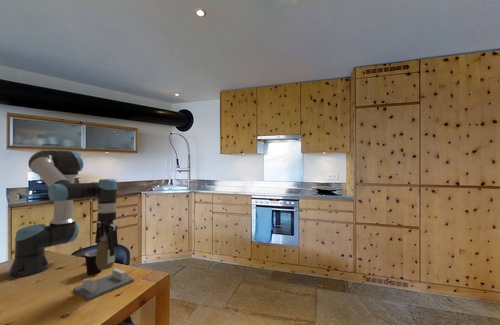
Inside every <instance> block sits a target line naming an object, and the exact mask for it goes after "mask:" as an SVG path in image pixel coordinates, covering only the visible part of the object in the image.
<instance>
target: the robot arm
mask: <svg viewBox="0 0 500 325" xmlns="http://www.w3.org/2000/svg"><path fill="white" fill-rule="evenodd" d="M28 167H29V169H30V171H31V172H33V173H34V174H37V175H38V177H40V179H41V180H42V181H43V183H45V184H46V185H47V186H48V192H47V194H48V199H49V200H50V201H52V202H53V204H54V205H53V216H52V219H51V220H50V221H49V225H46V224H45V223H38V224H32V225H28V226H23V227H22V228H20V229H18V230H17V231H16V232H15V237H14V241H15V243H14V244H15V246H14V260H13V261H12V264H11V266H10V269H9V271H8V275H9V277H11V278H12V277H13V278H17V277H18V278H19V277H26V276H31V275H36V274H38V273H42V272H44V271H45V270H47V269H48V268H49V261H48V259H47V256H46V254H45V248H50V247H55V246H60V245H63V244H64V245H66V244H68V243H72V242H74V241H75V240H76V239H77V237H78V235H79V231H80V227H79V223H78V221H76V220H75V218H73V209H74V201H75V200H86V199H97V207H96V208H97V218H96V220H97V221H98V222H96V231H95V239H94V244H96V245H97V246H98V243H99V242H100V240H101V237H102V236H103V235H104V232H105V235H106V236H107V241H108V246H109V248H108V257H107V264H109V263H112V262H114V252H115V253H116V250H115V249H116V248H118V247H119V243H118V242H119V241H118V225H117V224H116V225H114V221H115V220H116V219H117V212H116V211H117V194H118V186H117V185H118V183H117V180H116V179H115V178H101V179H99V180H98V181H93V182H92V181H90V182H82V183H81V182H79V183H78V182H77V183H75V181H76V179H75V178H76V177H77V176H79V172H81V171H82V170H83V168H84V160H83V157H82V155H81V153H79V152H78V151H73V150H72V151H71V150H51V149H45V150H44V149H43V150H40V151H37V152H35V153H33V154H32V155H31V156H30V158H29V159H28ZM114 263H115V262H114Z"/></svg>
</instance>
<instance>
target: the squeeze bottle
mask: <svg viewBox="0 0 500 325" xmlns="http://www.w3.org/2000/svg"><path fill="white" fill-rule="evenodd" d="M108 248H109V246H108V241H107V236H106V235H105V232H104V235H103V236H102V237H101V240H100V242H99V243H98V245H97V248H96V249H97V250H96V251H97V255H96V264H97V267H98V269H99V270H102V271H103V270H109V269H112V268H113V266H114V263H115V261H116V251H115V252H114V262H112V263H109V264H107V257H108Z"/></svg>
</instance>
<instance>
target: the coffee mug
mask: <svg viewBox="0 0 500 325" xmlns="http://www.w3.org/2000/svg"><path fill="white" fill-rule="evenodd" d="M96 255H97V250H94V251H93V250H92V251H89V252H86V253H85V254H84V257H85V258H84V259H85V266H86V274H88V276H95V274H96V275H99V274H101V273H102V271H103V270H99V269H98V267H97V264H96ZM100 272H101V273H100ZM98 273H99V274H98Z"/></svg>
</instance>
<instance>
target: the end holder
mask: <svg viewBox="0 0 500 325" xmlns="http://www.w3.org/2000/svg"><path fill="white" fill-rule="evenodd" d="M111 272H112V273H111V274H109V275H106V276H103V277H101V278H98V279H95V280H92V279H90V278H89V277H87V278H85V279H83V280H82V285H79V286H76V287H74V288H73V290H72V291H73V292H74V293H76V294H77V295H79V296H81V297H82V298H83V299H85V300H87V301H91V300H93V299H96V298H98V297H101V296H103V295H104V294H105V295H106V294H107V293H110V292H112V291H115V290H116V289H119V288H121V287H124V286H126V285H128V284H131V283H134V282H135V278H133V277H130V276H128V275H126V273H127V272H126V271H124V270H123V269H119V268H117V267H116V268H114V269H112V271H111Z"/></svg>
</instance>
